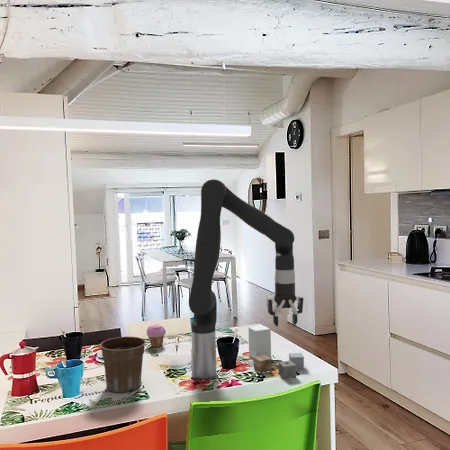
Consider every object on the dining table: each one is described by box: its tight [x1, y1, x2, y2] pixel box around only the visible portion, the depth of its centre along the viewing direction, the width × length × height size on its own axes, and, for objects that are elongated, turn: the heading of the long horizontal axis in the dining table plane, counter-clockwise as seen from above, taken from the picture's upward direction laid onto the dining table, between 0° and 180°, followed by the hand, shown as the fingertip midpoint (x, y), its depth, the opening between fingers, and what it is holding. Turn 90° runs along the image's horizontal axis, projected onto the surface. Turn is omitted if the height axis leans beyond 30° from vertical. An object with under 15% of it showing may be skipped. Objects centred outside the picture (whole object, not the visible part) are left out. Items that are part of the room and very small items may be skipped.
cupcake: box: [146, 323, 166, 348], centre depth 207 cm, size 9×9×10 cm
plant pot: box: [99, 336, 147, 394], centre depth 160 cm, size 16×16×16 cm
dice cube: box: [277, 360, 297, 380], centre depth 167 cm, size 5×5×5 cm
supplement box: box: [248, 324, 272, 360], centre depth 188 cm, size 7×7×13 cm
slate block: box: [288, 352, 305, 370], centre depth 176 cm, size 5×5×5 cm
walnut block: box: [253, 355, 272, 374], centre depth 173 cm, size 5×5×5 cm
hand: (285, 324), depth 166 cm, fingers open, 6 cm apart
